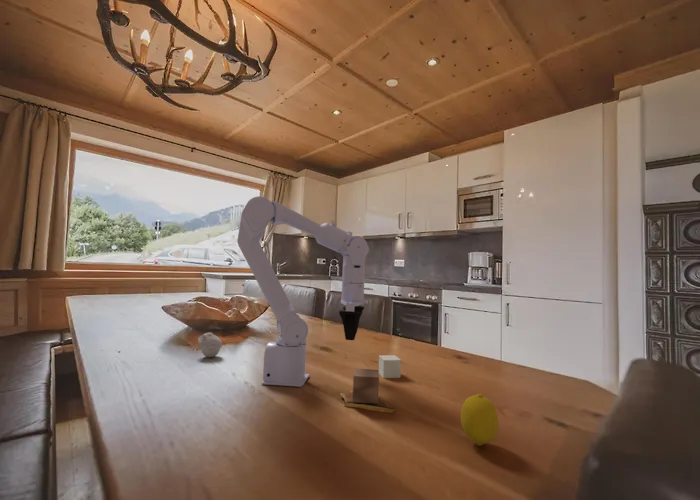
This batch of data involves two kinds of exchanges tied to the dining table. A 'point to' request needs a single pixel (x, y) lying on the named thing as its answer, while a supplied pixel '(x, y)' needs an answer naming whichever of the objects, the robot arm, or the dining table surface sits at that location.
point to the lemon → (479, 419)
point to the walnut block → (366, 386)
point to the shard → (369, 406)
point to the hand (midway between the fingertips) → (351, 336)
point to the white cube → (389, 366)
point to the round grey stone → (209, 344)
